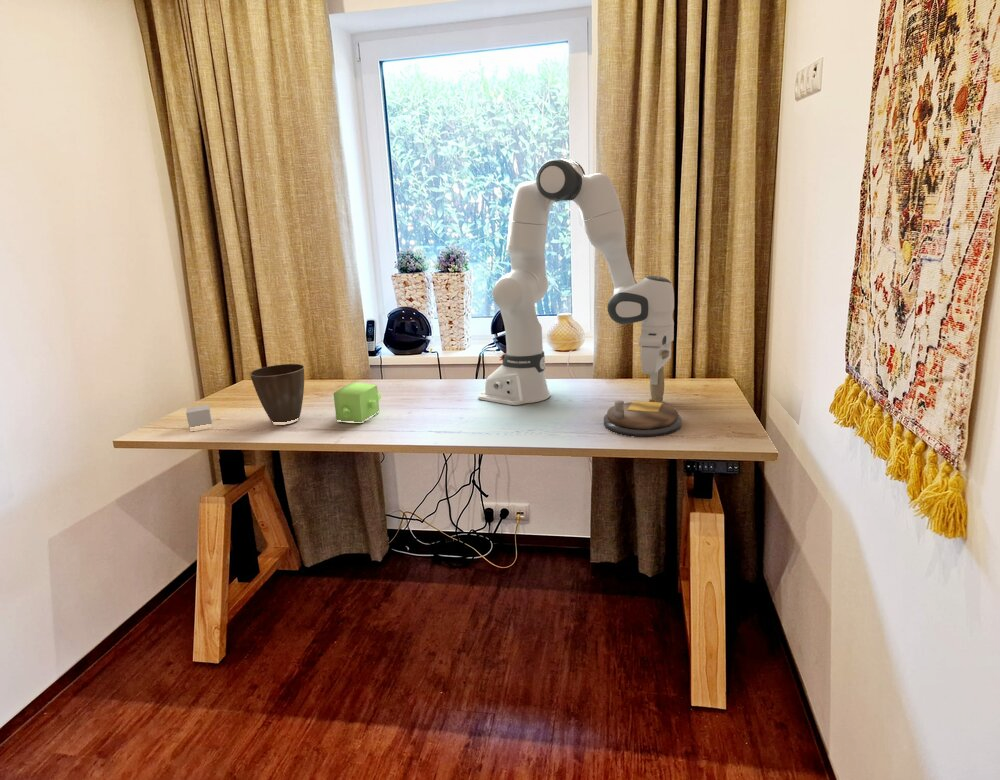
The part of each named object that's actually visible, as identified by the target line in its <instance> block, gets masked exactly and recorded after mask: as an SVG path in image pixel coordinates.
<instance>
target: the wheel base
mask: <svg viewBox="0 0 1000 780" xmlns="http://www.w3.org/2000/svg"><path fill="white" fill-rule="evenodd" d="M648 402H656V399H651V398H649V401H648ZM682 420H683V419H682V417H681V416H680V415H679V414H678V420H677V421H676V422H675V423H674V424H672V425H669V426H666V427H662V428H655V429H633V428H626V427H621V426H618V425H615V424H613V423H611V422H610V421H609V420H608V418H607V413H606V414H605V415H604V416H603V427H604V426H605V427H604V428H605V429H606V430H607V429H608V430H607V431H609V430H610V431H609V432H611V431H612V432H611V433H613V432H615V433H614V434H616V433H617V435H620V434H622V435H621V436H624V435H626V436H625V437H631V436H634V438H655V437H656V436H657V437H662V436H663V437H664V436H668V435H670V434H674V433H676V432H677V430H678V431H679V430H681V428H682V426H683V425H682V424H683V423H682ZM657 437H656V438H657Z"/></svg>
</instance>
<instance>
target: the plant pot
mask: <svg viewBox="0 0 1000 780" xmlns="http://www.w3.org/2000/svg"><path fill="white" fill-rule="evenodd" d="M249 375H250V379H251V381H252V384H253V388H254V391H255V392H256V396H258V399H259V401H260V404H261V405H262V406H261V407H262V408H263V409H264V412H265V414H266V415H267V417H268V418H269V420H270V422H272V421H273V422H287V421H291V420H295V419H297V418H299V417H300V416H301V413H302V406H303V402H304V401H303V400H304V393H305V392H304V390H305V366H304V365H303V364H298V363H285V364H284V363H282V364H275V365H267V366H264V367H260V368H256V369H255V370H252V371H251V372H250V373H249ZM300 418H301V417H300ZM300 418H299V419H300Z"/></svg>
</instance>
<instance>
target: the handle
mask: <svg viewBox="0 0 1000 780" xmlns="http://www.w3.org/2000/svg"><path fill="white" fill-rule="evenodd" d="M661 354H662V358H663V360H664V359H665V358H667V357H668V356H669V351H668V350H664V351H663V352H662V353H661ZM649 377H650V376H649ZM658 378H659V380H658V381H659V382H658V384H657V385H653V384H651V377H650V378H649V379H650V380H649V382H650V383H649V389H650V396H651V398H650V399H656V402H661V403H663V399H664V393H665V366H664V367H663V366H662V367H661V368H660V369H659V370H658Z"/></svg>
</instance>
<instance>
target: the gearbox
mask: <svg viewBox="0 0 1000 780" xmlns="http://www.w3.org/2000/svg"><path fill="white" fill-rule="evenodd" d="M381 399H382V393H381V392H378V385H377V384H373V383H366V382H365V383H363V382H351V383H349V384H347V385H345V386H343V387H341V388H339V389H338V390H336V391H335V392H333V401H334V412H335V420H336V421H337V420H341V421H354V422H362V421H364V420H365V419H367V418H369V417H370V416H372V415H374V414H375V413H377V412H378V411H379V412H380V403H379V401H380V400H381Z"/></svg>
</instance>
